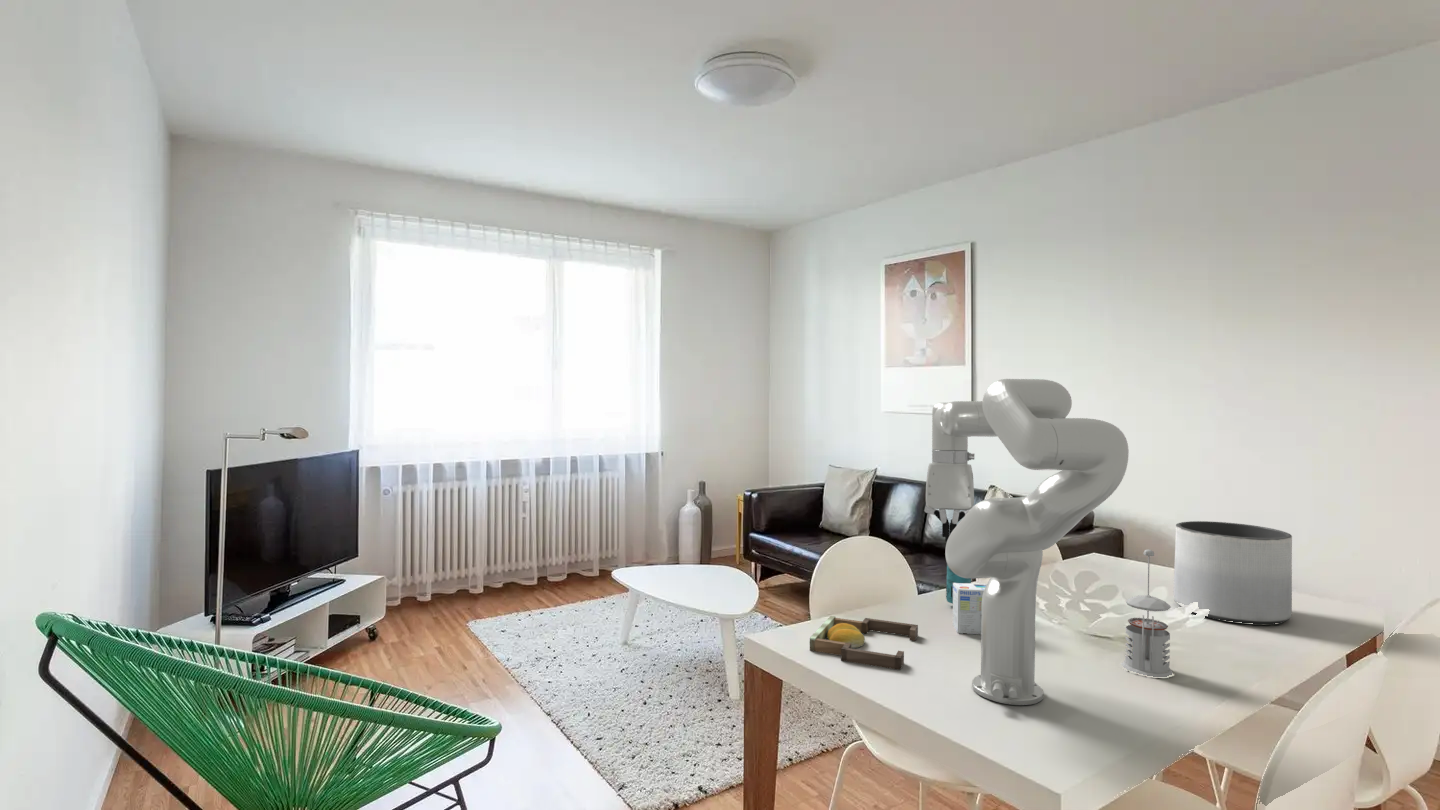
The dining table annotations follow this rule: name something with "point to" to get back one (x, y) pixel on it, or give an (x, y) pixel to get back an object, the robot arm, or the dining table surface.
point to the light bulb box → (967, 607)
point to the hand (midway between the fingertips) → (949, 540)
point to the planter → (1234, 571)
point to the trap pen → (863, 656)
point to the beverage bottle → (953, 579)
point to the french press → (1147, 637)
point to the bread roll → (846, 635)
